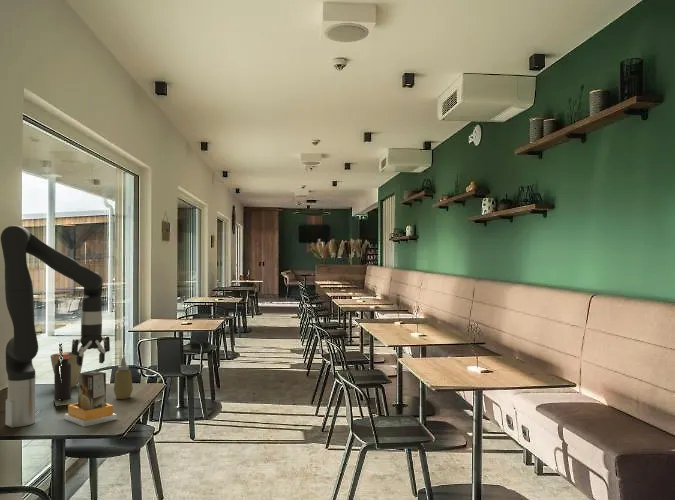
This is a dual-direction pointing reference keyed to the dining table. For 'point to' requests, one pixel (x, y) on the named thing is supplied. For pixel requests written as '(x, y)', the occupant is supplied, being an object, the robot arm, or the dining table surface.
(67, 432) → the dining table surface
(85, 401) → the coffee box
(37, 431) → the dining table surface
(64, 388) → the vinegar
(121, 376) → the squeeze bottle
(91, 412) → the orange open box
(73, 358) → the plant pot
